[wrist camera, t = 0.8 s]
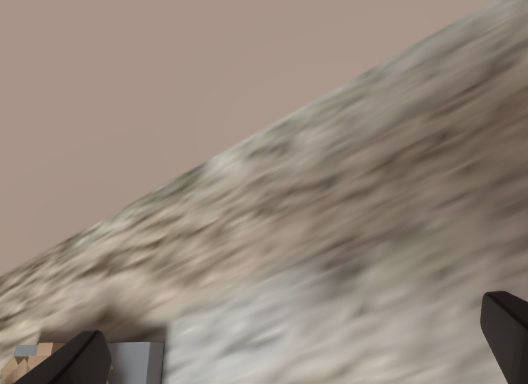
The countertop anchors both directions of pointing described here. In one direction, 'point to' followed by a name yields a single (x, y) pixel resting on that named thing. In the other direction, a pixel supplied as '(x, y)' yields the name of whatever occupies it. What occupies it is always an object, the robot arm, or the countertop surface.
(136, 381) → the gear board
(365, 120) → the countertop surface
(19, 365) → the birch gear
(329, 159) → the countertop surface
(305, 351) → the countertop surface
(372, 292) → the countertop surface
